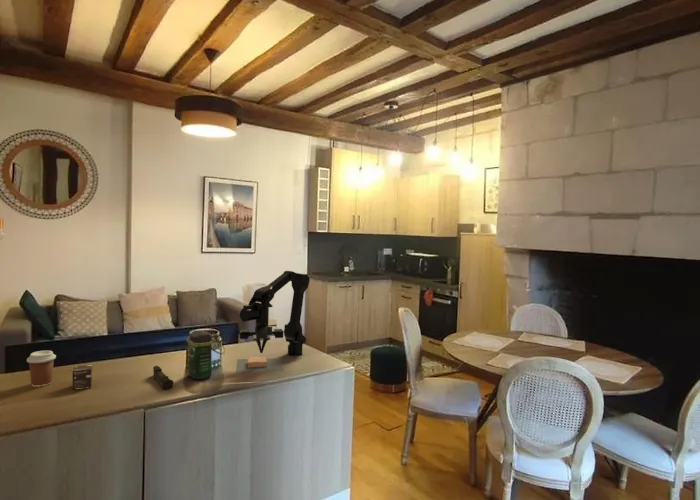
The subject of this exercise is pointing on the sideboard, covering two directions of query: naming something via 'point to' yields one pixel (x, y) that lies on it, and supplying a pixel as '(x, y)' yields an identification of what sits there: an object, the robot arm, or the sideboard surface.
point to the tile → (257, 362)
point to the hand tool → (162, 378)
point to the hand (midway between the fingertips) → (261, 352)
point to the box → (82, 376)
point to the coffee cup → (41, 367)
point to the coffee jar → (200, 355)
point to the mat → (272, 365)
